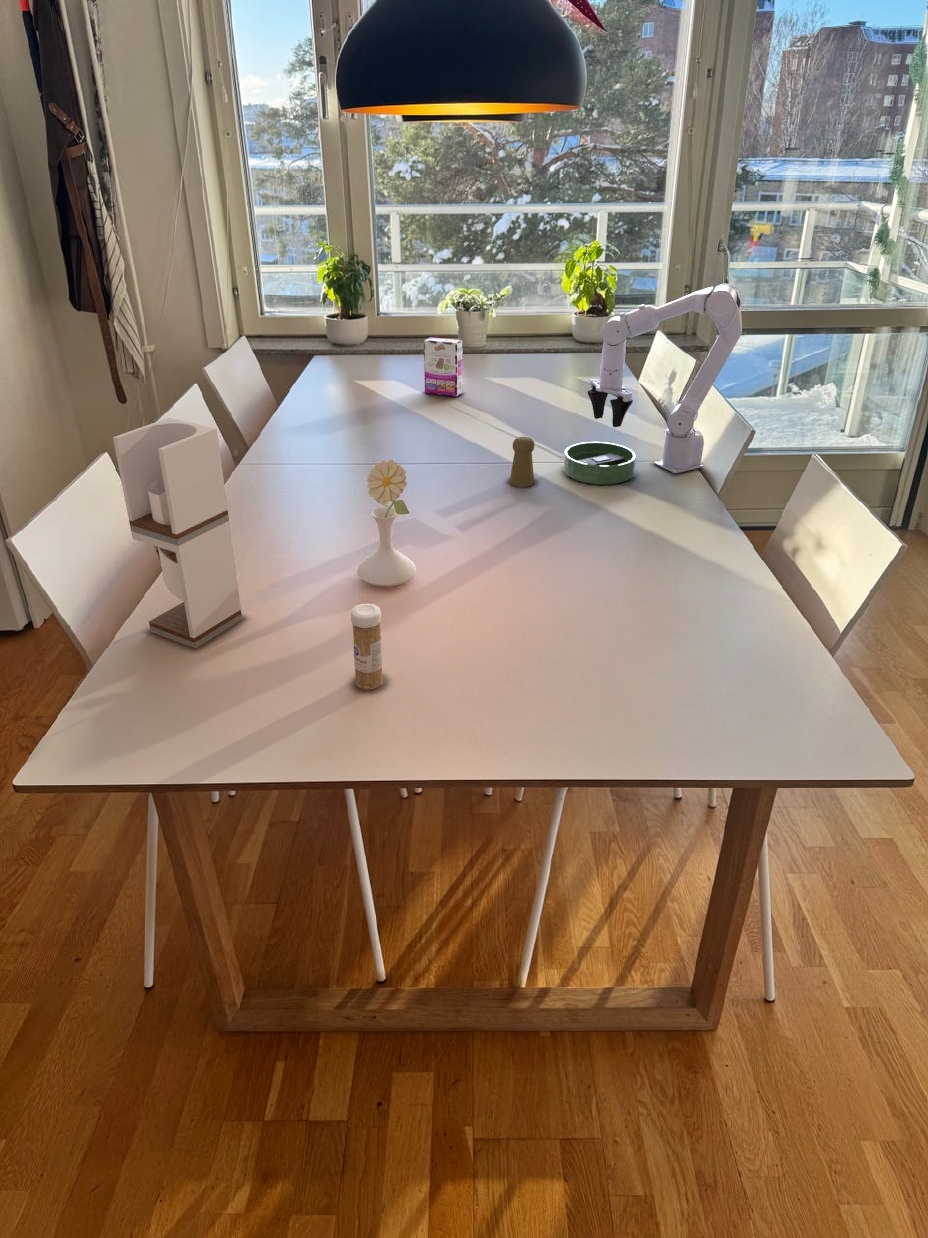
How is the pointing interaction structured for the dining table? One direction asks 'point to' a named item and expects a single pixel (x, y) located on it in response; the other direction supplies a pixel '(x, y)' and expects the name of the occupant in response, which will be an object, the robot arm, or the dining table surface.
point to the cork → (522, 462)
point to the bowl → (598, 472)
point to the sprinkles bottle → (367, 646)
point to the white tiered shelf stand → (183, 523)
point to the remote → (604, 460)
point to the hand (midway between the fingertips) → (607, 422)
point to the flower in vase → (386, 528)
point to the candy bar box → (443, 366)
